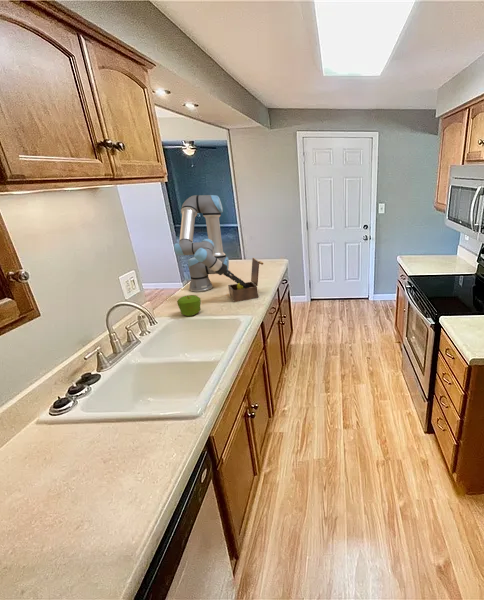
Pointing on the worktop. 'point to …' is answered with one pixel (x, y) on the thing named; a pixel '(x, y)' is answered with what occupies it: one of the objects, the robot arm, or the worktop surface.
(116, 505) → the worktop surface
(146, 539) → the worktop surface
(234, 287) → the chest
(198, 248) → the robot arm
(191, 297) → the apple
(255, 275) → the lid
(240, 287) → the lemon
